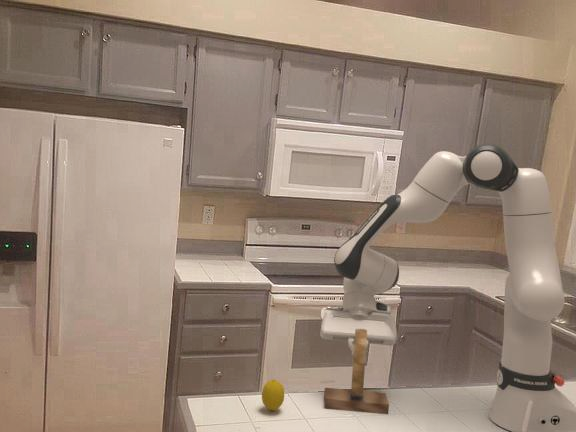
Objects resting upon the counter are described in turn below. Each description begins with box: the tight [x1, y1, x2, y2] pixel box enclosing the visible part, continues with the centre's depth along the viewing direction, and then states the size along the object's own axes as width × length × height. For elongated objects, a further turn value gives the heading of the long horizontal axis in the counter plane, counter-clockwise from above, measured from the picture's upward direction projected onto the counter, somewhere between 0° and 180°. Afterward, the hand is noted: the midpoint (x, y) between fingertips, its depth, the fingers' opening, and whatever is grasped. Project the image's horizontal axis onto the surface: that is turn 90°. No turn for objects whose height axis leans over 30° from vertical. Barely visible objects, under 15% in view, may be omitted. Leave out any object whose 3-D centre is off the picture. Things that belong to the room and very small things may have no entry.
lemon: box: [261, 378, 285, 412], centre depth 128 cm, size 6×6×8 cm
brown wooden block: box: [323, 387, 390, 415], centre depth 135 cm, size 16×7×3 cm, turn 87°
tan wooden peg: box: [350, 329, 367, 398], centre depth 133 cm, size 3×3×17 cm
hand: (357, 356), depth 136 cm, fingers closed, pressing on tan wooden peg
